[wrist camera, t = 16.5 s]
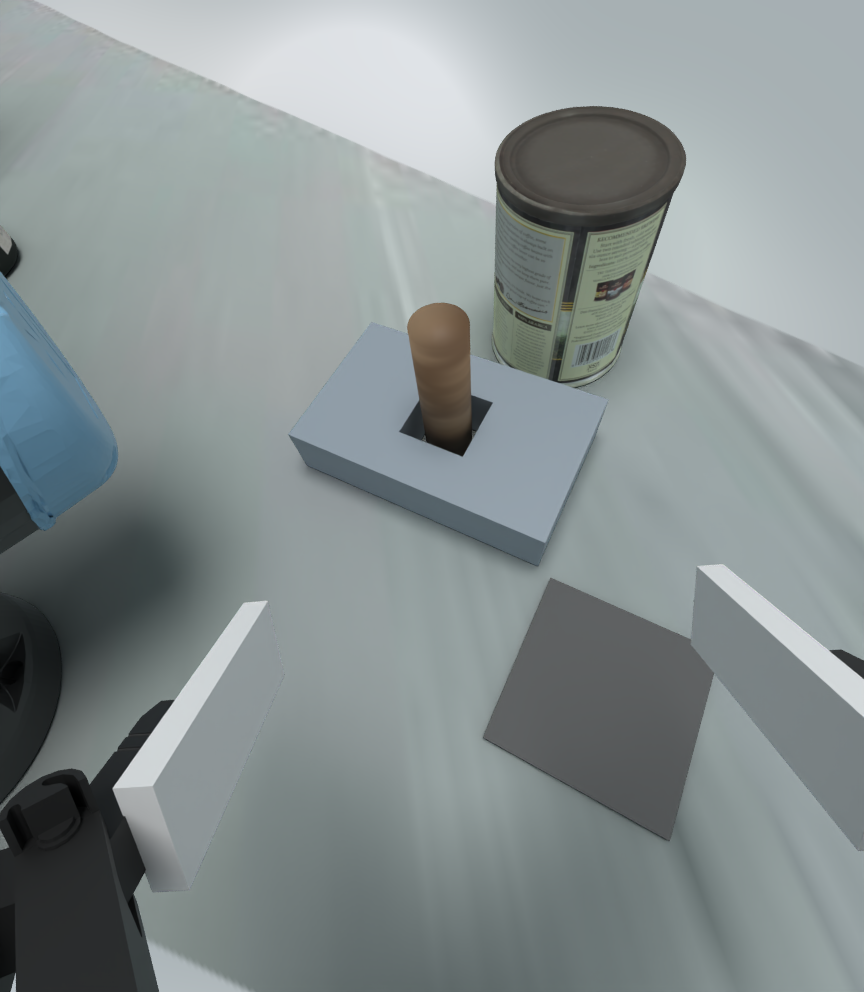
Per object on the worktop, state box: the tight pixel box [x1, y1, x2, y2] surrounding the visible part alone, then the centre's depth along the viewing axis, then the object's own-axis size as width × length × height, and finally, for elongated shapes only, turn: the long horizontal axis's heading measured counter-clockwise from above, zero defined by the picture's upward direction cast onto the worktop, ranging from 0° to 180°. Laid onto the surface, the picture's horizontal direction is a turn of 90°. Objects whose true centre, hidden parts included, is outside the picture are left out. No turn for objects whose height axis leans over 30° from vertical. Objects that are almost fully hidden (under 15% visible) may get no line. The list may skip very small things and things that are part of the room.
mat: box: [483, 578, 714, 841], centre depth 28 cm, size 10×10×1 cm
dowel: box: [407, 303, 472, 457], centre depth 31 cm, size 3×3×12 cm
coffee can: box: [492, 106, 686, 388], centre depth 34 cm, size 10×10×14 cm
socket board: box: [288, 322, 609, 566], centre depth 34 cm, size 18×11×4 cm, turn 63°
